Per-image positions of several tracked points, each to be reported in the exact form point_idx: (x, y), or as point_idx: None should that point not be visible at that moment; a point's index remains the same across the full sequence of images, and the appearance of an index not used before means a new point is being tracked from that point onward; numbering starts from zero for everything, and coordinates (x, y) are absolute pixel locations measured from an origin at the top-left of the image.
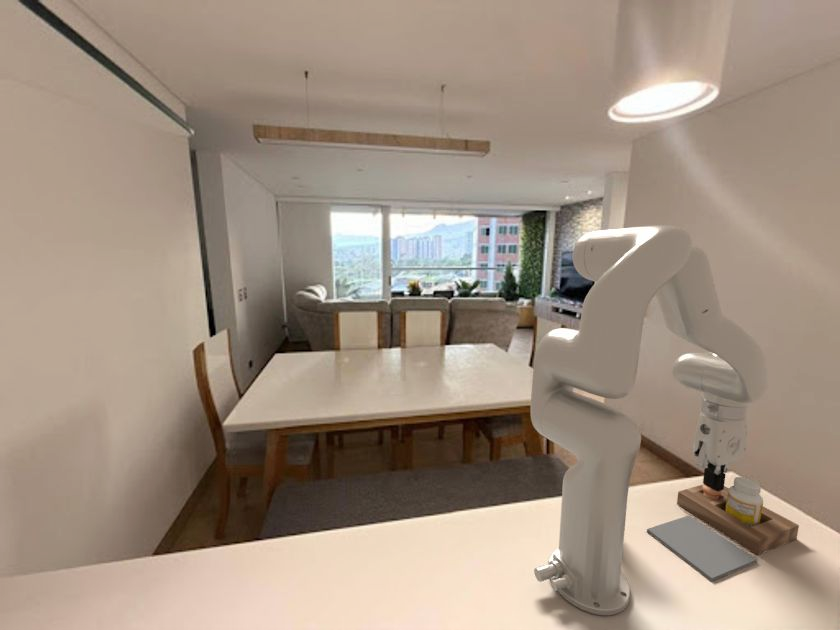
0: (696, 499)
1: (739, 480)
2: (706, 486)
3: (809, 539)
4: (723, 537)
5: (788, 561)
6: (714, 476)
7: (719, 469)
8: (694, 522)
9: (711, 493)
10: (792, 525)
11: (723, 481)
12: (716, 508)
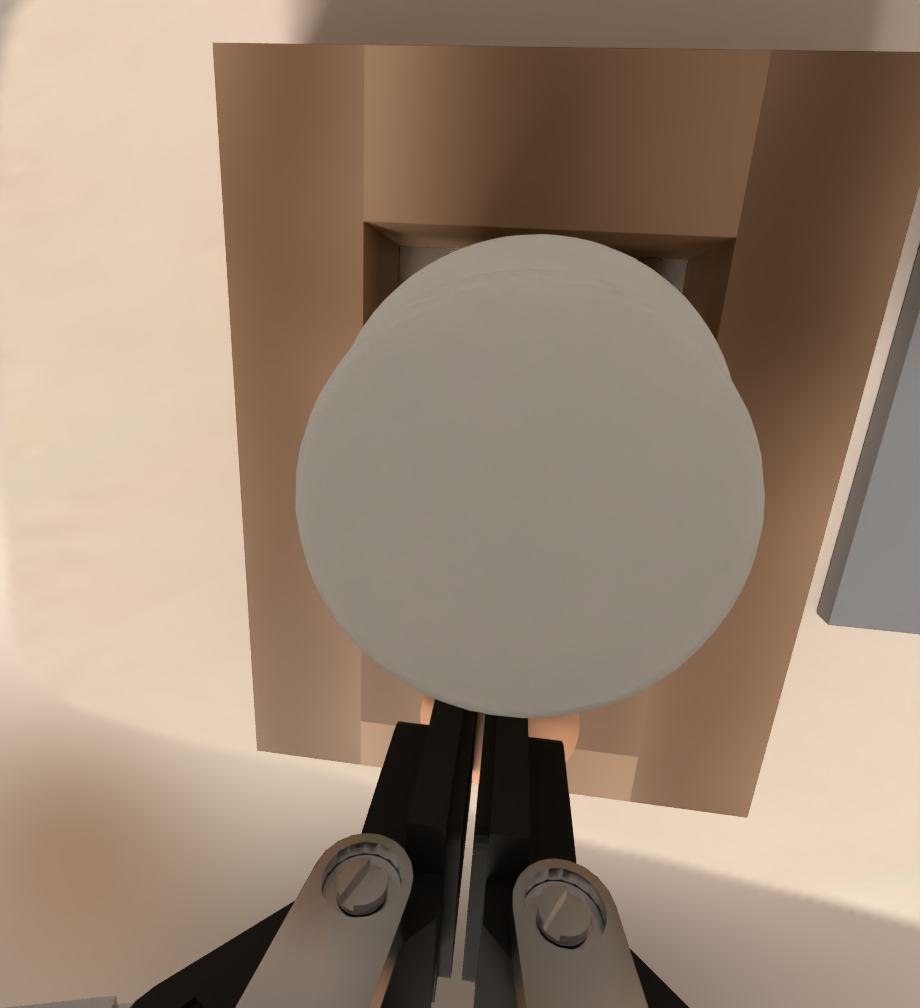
0: (725, 696)
1: (578, 636)
2: None
3: (186, 61)
4: (904, 356)
5: None
6: (568, 849)
7: (543, 962)
8: (897, 561)
9: None
10: (287, 67)
11: (453, 732)
12: None
